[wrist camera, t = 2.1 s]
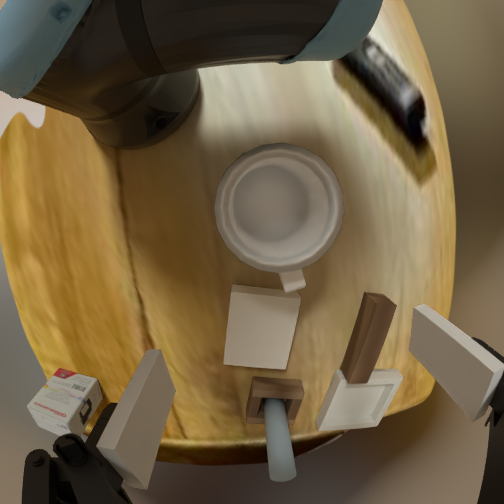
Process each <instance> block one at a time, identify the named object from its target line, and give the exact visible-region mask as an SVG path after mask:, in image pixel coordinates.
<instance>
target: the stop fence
mask: <svg viewBox="0 0 504 504" xmlns="http://www.w3.org/2000/svg"><path fill="white" fill-rule="evenodd" d="M396 306H397V305H396V304H394V303H393V302H392V301H391V300H390V299H388V298H387V297H386V296H385V295H383V294H376V293H366V292H364V296H363V299H362V303H361V306H360V310H359V313H358V317H357V320H356V323H355V326H354V329H353V333H352V336H351V339H350V342H349V345H348V348H347V350H346V353H345V356H344V359H343V362H342V365H341V367H340V368H341V370H342V372H343V374H344V376H345V378H346V380H347V382H348V384H363V383H368V381H369V378H370V376H371V374H372V371H373V369H374V367H375V364H376V362H377V359H378V357H379V354H380V352H381V349H382V347H383V344H384V341H385V339H386V336H387V333H388V330H389V327H390V325H391V322H392V319H393V316H394V313H395V309H396Z"/></svg>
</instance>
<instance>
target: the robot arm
mask: <svg viewBox="0 0 504 504" xmlns="http://www.w3.org/2000/svg"><path fill="white" fill-rule="evenodd" d="M382 2H383V0H7V1H6V3H5V4H4V6H3V7H2V9H1V10H0V90H1V91H3V92H5V93H7V94H9V95H10V96H11V97H12V98H17V99H18V98H23V99H26V100H29V101H32V102H36V103H39V104H42V105H45V106H48V107H50V108H53V109H56V110H59V111H62V112H65V113H68V114H70V115H73V116H76V117H79V118H80V119H81V120H82V122H83V123H84V124H85V126H86V127H87V129H88V131H89V132H90V133H91V134H92V135H93V136H94V137H95V138H96V139H98V140H99V141H101V142H102V143H104V144H107V145H109V146H113V147H116V148H120V149H140V148H145V147H148V146H151V145H153V144H156V143H158V142H160V141H162V140H163V139H165V138H166V137H168V136H169V135H171V134H172V133H173V132H174V131H175V130H177V129H178V128H179V127H180V126H181V124H182V123H183V122H184V121H185V120H186V118H187V117H188V115H189V114H190V112H191V111H192V109H193V107H194V104H195V102H196V99H197V96H198V91H199V74H198V70H197V69H199V68H206V67H214V66H223V65H233V64H247V63H268V62H276V63H279V64H290V63H294V62H296V61H330V60H335V59H338V58H341V57H343V56H344V55H346V54H347V53H348V52H349V51H352V50H354V49H355V48H357V47H358V46H359V45H360V43H361V42H362V41H363V40H364V39H365V38H366V36H367V35H368V33H369V32H370V30H371V29H372V27H373V25H374V23H375V21H376V19H377V16H378V14H379V11H380V8H381V5H382ZM409 351H410V352H411V353H412V354H413V355H414V356H415V357H416V358H417V359H418V361H419V362H420V363H421V364H422V365H423V366H424V367H425V368H426V369H427V370H428V371H429V373H430V374H431V375H432V376H433V377H434V378H435V379H436V380H437V381H438V382H439V384H440V385H441V386H442V387H443V388H444V389H445V391H446V392H447V393H448V394H449V395H450V396H451V397H452V399H453V400H454V401H455V402H456V403H457V404H458V406H459V407H460V408H461V409H462V410H463V411H464V413H465V414H466V415H467V416H468V417H469V418H470V420H471V421H472V422H474V421H476V420H477V419H479V418H480V417H482V416H483V415H485V413H486V411H487V409H488V406H489V405H490V406H491V407H492V408H493V409H492V411H491V413H490V415H489V417H488V419H487V421H486V423H485V426H487V424H488V422H489V421H490V430H489V441H488V450H487V458H486V464H485V470H484V476H483V481H482V486H481V490H480V494H479V498H478V502H477V504H504V357H503V356H501V355H500V354H499V353H497V352H496V351H494V349H492V348H491V347H489V346H488V345H487V344H486V343H485V342H483V341H482V340H480V339H477V338H474V337H472V338H470V337H469V336H468V335H466V334H465V333H464V332H462V331H461V330H460V329H458V328H457V327H456V326H454V325H453V324H451V323H450V322H449V321H448V320H446V319H445V318H444V317H442V316H441V315H439V314H438V313H437V312H435V311H434V310H433V309H431V308H430V307H428V306H427V305H426V304H422V305H419V306H415V307H414V308H413V319H412V328H411V336H410V344H409ZM175 392H176V390H175V387H174V384H173V382H172V379H171V377H170V374H169V371H168V368H167V366H166V363H165V360H164V357H163V354H162V351H161V349H158V350H147V351H146V353H145V355H144V357H143V358H142V360H141V362H140V364H139V366H138V367H137V369H136V371H135V373H134V375H133V377H132V378H131V380H130V382H129V384H128V386H127V388H126V389H125V391H124V393H123V395H122V397H121V399H120V401H119V403H110V404H109V405H108V406H107V407H106V408H105V409H104V410H103V411H102V413H101V415H100V417H99V419H98V420H97V422H96V425H95V426H94V428H93V429H92V431H91V433H90V435H89V437H88V439H87V441H86V442H85V443H84V442H83V440H82V439H81V437H80V436H78V435H77V434H73V433H68V434H64V435H62V436H60V437H59V438H58V439H57V440H56V441H55V443H54V444H53V451H54V452H55V453H56V454H57V456H58V457H57V458H55V457H51V456H50V455H49V454H48V452H47V451H45V450H43V449H36V450H33V451H32V452H30V453H29V454H28V455H27V457H26V460H25V467H24V476H23V489H22V504H133V503H132V502H131V500H130V498H129V497H128V495H127V493H126V492H125V490H124V489H123V488H122V487H121V484H122V482H123V480H124V481H125V482H126V483H127V484H128V485H129V486H130V487H136V488H143V489H147V487H148V483H149V480H150V476H151V472H152V469H153V465H154V462H155V458H156V455H157V451H158V448H159V445H160V441H161V438H162V434H163V431H164V428H165V424H166V421H167V418H168V414H169V411H170V408H171V405H172V401H173V398H174V395H175Z"/></svg>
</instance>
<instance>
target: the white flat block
mask: <svg viewBox="0 0 504 504" xmlns="http://www.w3.org/2000/svg"><path fill="white" fill-rule="evenodd" d="M300 302H301V298H300V296H299V294H298V292H297V291H292V292H289V293H286V294H285V291H284V290H279V289H270V288H261V287H252V286H244V285H235V284H232V289H231V298H230V306H229V315H228V324H227V334H226V343H225V352H224V362H223V364H226V365H235V366H245V367H256V368H270V369H286V366H287V362H288V358H289V353H290V349H291V344H292V340H293V336H294V331H295V326H296V322H297V317H298V312H299V307H300Z"/></svg>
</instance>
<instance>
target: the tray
mask: <svg viewBox="0 0 504 504" xmlns="http://www.w3.org/2000/svg"><path fill="white" fill-rule="evenodd" d="M402 379H403V376H402V375H401V373H400V372H399V371H398V370H397V369H379V370H373V371H372V374H371V376H370V378H369V381H368V383H363V384H348V382H347V380H346V378H345V376H344V374H343V372H342V370H336V371H335V373H334V376H333V379H332V381H331V384H330V387H329V389H328V392H327V394H326V397H325V399H324V402H323V404H322V406H321V409H320V411H319V413H318V416H317V418H316V420H315V421H316V425H317V428H318V431H328V430H344V429H356V428H366V427H374V426H377V425H378V424H379V422H380V420H381V419H382V417H383V415H384V413H385V412H386V410H387V408H388V406H389V404H390V403H391V401H392V399H393V397H394V395H395V393H396V391H397V389H398V387H399V385H400V383H401V381H402Z"/></svg>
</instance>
